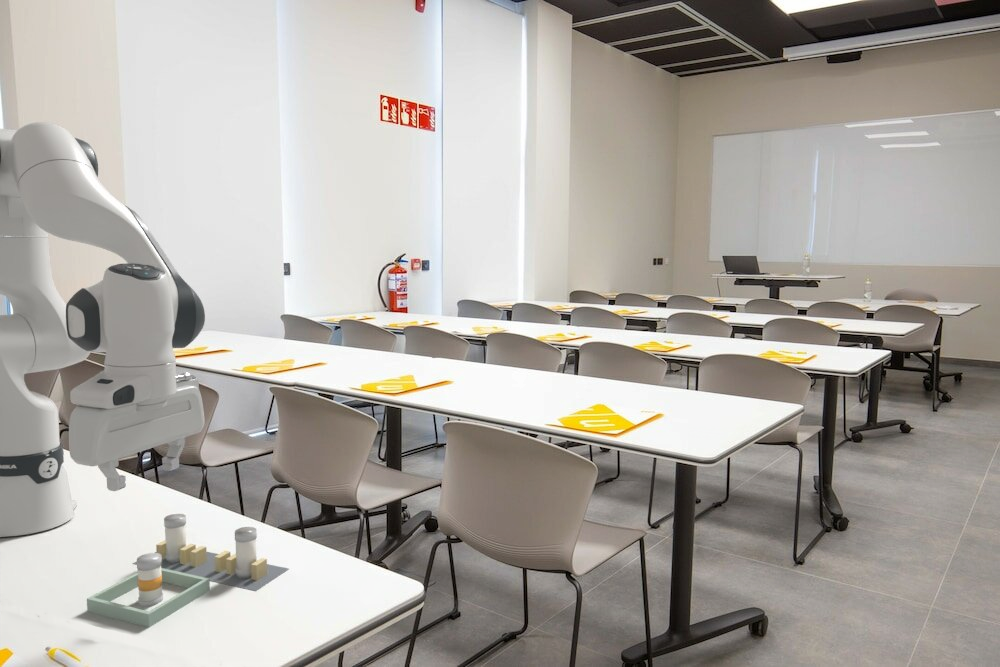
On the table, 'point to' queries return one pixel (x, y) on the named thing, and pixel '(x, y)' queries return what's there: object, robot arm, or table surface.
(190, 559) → the fuse holder
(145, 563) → the marked fuse
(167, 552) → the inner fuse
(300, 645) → the table surface
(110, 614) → the parts tray
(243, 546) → the outer fuse
